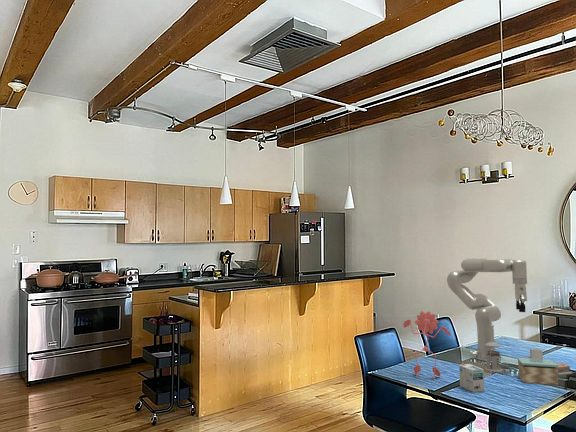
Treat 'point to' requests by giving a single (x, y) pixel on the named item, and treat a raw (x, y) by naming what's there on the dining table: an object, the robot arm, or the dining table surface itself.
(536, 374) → the storage box
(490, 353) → the french press
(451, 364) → the dining table surface
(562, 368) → the packaged product
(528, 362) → the lid
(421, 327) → the figurine
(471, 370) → the light bulb box
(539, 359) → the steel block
